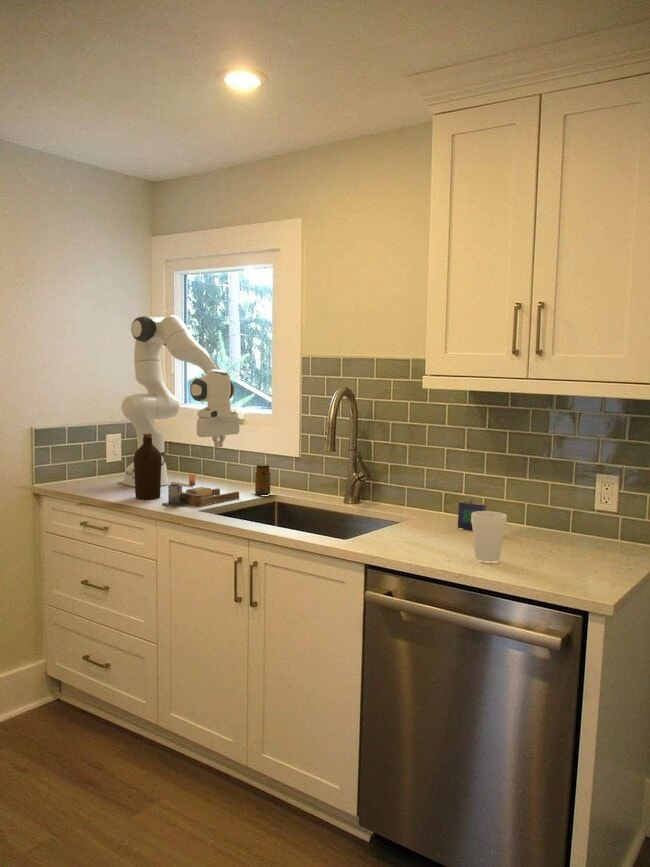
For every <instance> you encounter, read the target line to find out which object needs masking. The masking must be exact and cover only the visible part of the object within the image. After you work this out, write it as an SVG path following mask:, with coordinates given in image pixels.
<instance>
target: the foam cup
mask: <svg viewBox="0 0 650 867" xmlns="http://www.w3.org/2000/svg"><path fill="white" fill-rule="evenodd" d="M507 519H508V515H507V514H505V513H503V512H500V511H498V512H497V511H491V510H486V511H476V512H473V513H472V514H471V522H472V529H473V531H472V538H473V547H474V548H473V549H474V558H475V560H476V559H478V560H482V561H490V562H492V561H498V560H499V561H500V559H501V558H500V557H501V554H502V547H503V543H504V534H505V530H506V525H507Z"/></svg>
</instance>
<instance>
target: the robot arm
mask: <svg viewBox="0 0 650 867" xmlns="http://www.w3.org/2000/svg"><path fill="white" fill-rule="evenodd" d="M130 330H131V331H130V332H131V334H132V337H133V338H134V340H135V342H134V349H133V350H134V352H133V355H134V356H133V359H134V361H133V362H134V374H135V375H134V376H135V380H136V382H137V383H138V384H140V385H141V386H143V387H144V388H145V390H146V391H147V393H137V394H130V395H127V396H125V398H123V400H122V402H121V407H120V408H121V413H122V414H123V416H124V417H125V418H126V419H128V421H130V423H131V424H132V425H133V427H134V429H135V432H136V436H137V450H138V449H139V448H140V447H141V446H142V444H143V437H144V436H143V434H152V444H153V445H154V446H155V447H156V448H157V450H158V451H159V452H160V454H161V457H162V464H161V487H162V486H166V485H167V486H168V485H169V482H170V479H169V478H168V470H167V469H168V468H167V464H166V462H165V461H166V450H165V434H164V432H163V431H162V430H161V429H159V428H157V427H156V426H155V425H154V420H165V419H170V418H173V417H175V416H177V414H178V412H179V410H180V402H179V400H178V397H176V395H174V394H173V393H172V392H170V390H169V389H168V387H167V386H166V384H165V382H164V377H163V371H162V358H161V348H162V346H163V345H164V346H165V347H166V348H167V350H168V352H169V353H170V354H171V355H172V357H173V358H175V359H177V360H179V361H182V362H186V363H189V364H192V365H195V366H197V367H199V368H200V369H201V370H202V371H203V372H204V375H203V376H200V377H197V378H194V379H193V380H192V382H191V383H190V387H189V388H190V389H189V390H190V396H191V397H192V399H193V400H194V401H196V402H199V403H202V402H203V403H204V402H205V403H206V402H207V406H205V407H204V408H202V409H200V410H198V411H197V414H196V415H197V417H198V418H197V421H196V435H197V436H198V437H199V438H211V440H212V442H213V443H214V444H213V446H214V448H215V449H216V448H222V447H223V445H224V442H225V439H226V436H229V435H230V436H231V435H238V434H239V433H240V421H239V414H238V413H237V411H236V410H231V406H232V405H231V399H232V397H233V395H234V393H235V387H234V384H233V381H232V380H231V377H230V374H229V372H228V371H227V370H223V369H221V368H220V367H219V365H218V364H217V363H216V361H215V360H214V358H213V357H212V356H211V355H210V353H209V352H208V351H207V349H205V348H204V347H202V346H201V345H200V344H199V343H198V342H197V340H196V339H195V338H194V336H193V335H192V333H191V331H190V330H189V329H188V327H187V326H186V324H185V323H184V322H183V321H182V319H181V318H180V317H179V316H177V315H174V314H173V315H167V316H164V317H163V316H145V315H144V316H139V317H136V318H134V320H133V321H132V323H131V327H130ZM218 439H219V440H218ZM133 454H134V455H135V452H133ZM118 483H119V484H123V485H127V486H130V487H134V488H135V475H134V461H133V462H132V463H131V464H129V465H128V466H127V467H126V468H125V470H124V478H121V479H119V480H118Z"/></svg>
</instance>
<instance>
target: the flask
mask: <svg viewBox="0 0 650 867" xmlns="http://www.w3.org/2000/svg"><path fill="white" fill-rule="evenodd" d="M469 499H470V500H466V499H465V500H459V502H458V511H457V514H458V515H457V516H458V517H457V529H458V528H463V529H469V530H468V531H471V530H473V529H472V522H471V514H472V513H473V512H476V511H487V510H486V509H487V504H485V503H479V502H478V503H477V502H475V499H476V498H475V497H469ZM463 529H462V530H463Z"/></svg>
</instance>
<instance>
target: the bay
mask: <svg viewBox="0 0 650 867" xmlns="http://www.w3.org/2000/svg"><path fill="white" fill-rule="evenodd" d="M211 489H212V496H210V497H205V498H201V495H196V494H191V493H186V491H185V492H183V491H182V498H183V500H182V502H185V503H188V505H187V506H192V505H194V506H193V507H201V506H202V505H203V506H207V505H206V504H208V505H211V504H210V503H213V504H215V503H214V502H218V503H220V502H219V501H223V502H225V501H224V500H228V501H230V500H229V499H233V500H236V499H235V498H238V499H240V491H231V492H227V493H221V488H211ZM214 495H215V496H214ZM203 506H202V507H203Z"/></svg>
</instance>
